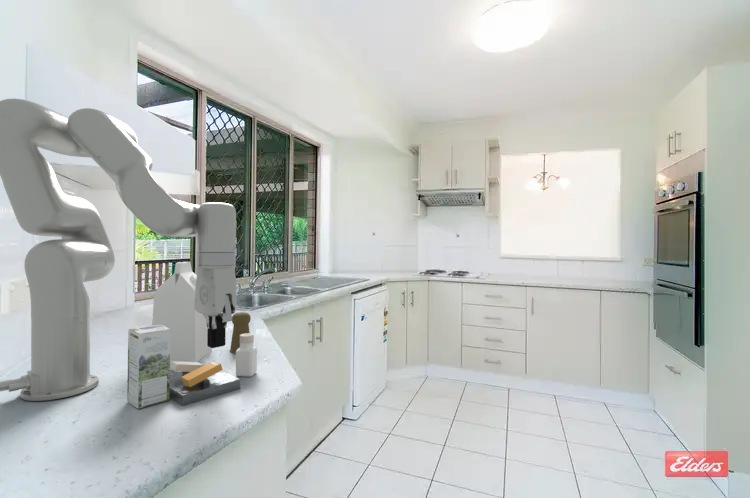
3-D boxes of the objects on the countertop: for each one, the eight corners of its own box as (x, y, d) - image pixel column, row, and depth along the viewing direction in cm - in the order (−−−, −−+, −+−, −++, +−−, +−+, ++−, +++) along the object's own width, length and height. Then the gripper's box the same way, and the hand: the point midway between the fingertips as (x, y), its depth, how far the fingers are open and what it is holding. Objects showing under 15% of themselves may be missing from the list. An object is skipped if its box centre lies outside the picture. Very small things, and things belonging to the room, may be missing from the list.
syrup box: (158, 393, 78) (158, 323, 78) (170, 401, 74) (171, 327, 74) (126, 402, 73) (127, 327, 73) (138, 410, 69) (138, 332, 69)
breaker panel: (182, 405, 72) (182, 390, 72) (154, 387, 81) (155, 374, 81) (240, 388, 81) (240, 374, 81) (209, 373, 90) (209, 361, 90)
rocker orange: (189, 387, 75) (187, 380, 74) (183, 383, 77) (181, 376, 77) (222, 369, 80) (220, 363, 80) (215, 366, 82) (213, 360, 82)
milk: (171, 350, 109) (171, 261, 109) (212, 350, 110) (212, 261, 110) (149, 363, 97) (150, 263, 97) (195, 363, 98) (196, 263, 98)
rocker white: (174, 371, 79) (176, 363, 79) (168, 368, 81) (170, 360, 81) (206, 372, 84) (208, 365, 84) (200, 369, 86) (202, 362, 86)
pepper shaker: (247, 353, 107) (247, 314, 107) (226, 353, 107) (226, 314, 107) (254, 347, 113) (254, 311, 113) (234, 347, 113) (235, 310, 113)
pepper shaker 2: (241, 371, 92) (241, 332, 91) (257, 371, 91) (257, 332, 91) (234, 377, 88) (235, 336, 87) (251, 377, 87) (252, 336, 87)
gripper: (184, 260, 82) (183, 343, 83) (216, 262, 73) (216, 357, 73) (217, 259, 88) (216, 337, 88) (251, 261, 78) (251, 349, 78)
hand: (216, 346), depth 80 cm, fingers closed
